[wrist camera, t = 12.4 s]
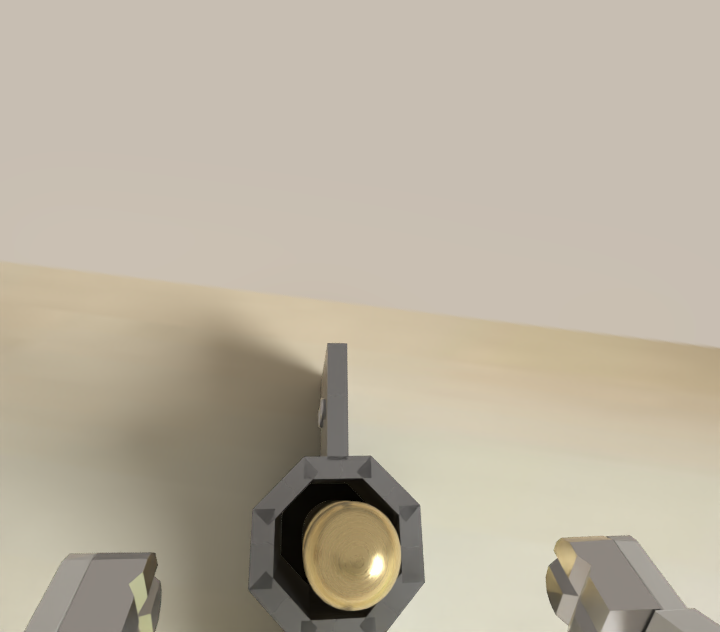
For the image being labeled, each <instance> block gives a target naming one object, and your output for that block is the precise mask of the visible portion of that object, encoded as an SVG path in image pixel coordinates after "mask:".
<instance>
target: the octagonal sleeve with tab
mask: <svg viewBox="0 0 720 632" xmlns="http://www.w3.org/2000/svg"><path fill="white" fill-rule="evenodd" d="M318 428H321V452H320V456H314V457H303V458H302V459H301V460H300V461H299V462H298V463H297V464H296V465H295V466H294V467H293V468H292V470H291V471H290V472H289V473H288V474H287V475H286V476H285V477H284V478H283V479H282V480H281V481H280V482H279V483H278V484H277V485H276V486H275V487H274V488H273V489H272V490H271V491H270V492H269V493H268V494H267V495H266V496H265V497H264V498H263V499H262V500H261V501H260V502H259V503H258V504H257V505H256V506H255V507H254V508H253V512H252V530H251V549H250V567H249V586H248V590H249V591H250V592H251V594H252V595H253V596H254V597H255V598H256V599H257V600H258V602H259V603H260V604H261V605H262V606H263V607H264V608H265V610H266V611H267V612H268V613H269V614H270V615H271V616H272V618H273V619H274V620H275V621H276V622H277V623H278V624H279V626H280V627H281V628H282V629H283V630H284V631H285V632H387V630H388V629H389V628H390V627H391V625H392V624H393V623H394V621H395V620H396V619H397V617H398V616H399V615H400V614H401V612H402V611H403V610H404V608H405V607H406V606H407V605H408V603H409V602H410V601H411V599H412V598H413V597H414V596H415V594H416V593H417V592H418V590H419V589H420V588H421V586H422V585H423V584H424V583H425V578H424V561H423V545H422V528H421V512H420V505H419V504H418V503H417V502H416V501H415V500H414V499H413V498H412V497H411V496H410V494H409V493H408V492H407V491H406V490H405V489H404V488H403V487H402V486H401V485H400V484H399V483H398V482H397V481H396V480H395V479H394V478H393V477H392V476H391V475H390V474H389V473H388V472H387V471H386V470H385V469H384V468H383V467H382V466H381V465H380V464H379V463H378V462H377V461H376V460H375V459H374V458H373V457H372V456H348V381H347V344H345V343H328V344H327V350H326V355H325V361H324V367H323V373H322V379H321V398H320V409H318ZM332 483H347V484H348V485H349V486H350V487H351V488H352V489H353V490H354V492H355V493H356V494H357V495H358V496H359V497H360V498H361V499H362V500H363V501H364V502H365V503H366V504H369V505H371V506H373V507H375V508H377V509H378V510H380V511H381V512H382V513H383V514H384V515H385V516H386V517H387V518H388V519H389V520H390V521H391V523H392V525H393V526H394V528H395V530H396V532H397V535H398V538H399V542H400V546H401V564H400V570H399V574H398V577H397V579H396V582H395V583H394V585H393V587H392V589H391V590H390V591H389V593H388V594H387V595H386V596H385V597H384V598H383V599H382V600H381V601H379V602H378V603H377V604H375V605H373V606H371V607H369V608H367V609H363V610H357V611H345V610H340V609H337V608H334V607H332V606H330V605H329V604H327V603H326V602H324V601H323V600H322V599H321V598H320V597H319V596H318V595H317V594H316V593H315V592H314V590H313V589H312V587H311V585H308V584H307V583H306V582H305V581H304V580H303V579H302V578H301V577H300V575H299V574H298V573H297V572H296V571H295V570H294V569H293V568H292V567H291V566H290V564H289V563H288V562H287V561H286V560H285V559H284V558H283V557H282V556H281V537H282V513H283V512H284V511H285V509H286V508H287V507H288V506H289V505H290V504H291V503H292V502H293V501H294V500H295V499H296V498H297V497H298V496H299V495H300V494H301V493H302V492H303V490H304V489H305V488H306V487H307V486H308V485H309V484H332Z"/></svg>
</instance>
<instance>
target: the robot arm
mask: <svg viewBox="0 0 720 632" xmlns="http://www.w3.org/2000/svg"><path fill="white" fill-rule="evenodd" d="M554 552H555V554H556V556H557V559H556V560H555V561H553V562H552V563H551V564H550V565H549V566H548V570H547V574H546V588H547V594H548V597H549V601H550V603H551V606H552V608H553V610H554V612H555V614H556V616H558V617H559V618H560V619H561V620H562V621H563V622H565V623H566V624H567V625H568V631H567V632H720V625H718V624H717V623H715V622H714V621H713V620H711V619H710V618H708V617H707V616H705V615H704V614H702V613H701V612H699V611H698V610H696V609H695V608H687V607H686V605H685V604H684V603H683V601H682V600H681V599H680V597H679V596H678V595H677V593H676V592H675V591H674V589H673V588H672V587H671V585H670V584H669V583H668V581H667V580H666V579H665V577H664V576H663V575H662V573H661V572H660V571H659V569H658V568H657V567H656V565H655V564H654V563H653V561H652V560H651V559H650V557H649V556H648V555H647V553H646V552H645V551H644V549H643V548H642V547H641V545H640V544H639V543H638V541H637V540H636V539H634V538H633V537H632V536H630V535H628V536H606V537H605V536H589V537H568V538H561V539H559V540H558V541H557V542H556V545H555V548H554ZM157 566H158V564H157V559H156V554H155V553H75V554H69V555H68V556H67V557H66V558H65V559H64V560H63V561H62V562H61V564H60V566H59V568H58V569H57V571H56V573H55V575H54V577H53V579H52V580H51V582H50V584H49V586H48V588H47V590H46V592H45V593H44V595H43V597H42V599H41V601H40V603H39V605H38V606H37V608H36V610H35V612H34V614H33V616H32V618H31V619H30V621H29V623H28V625H27V627H26V629H25V631H24V632H155V631H156V627H157V623H158V620H159V613H160V607H161V583H160V581H159V580H158V579H157V578H156V577H155V576H154V575H155V572H156V569H157Z"/></svg>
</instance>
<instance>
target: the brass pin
mask: <svg viewBox="0 0 720 632" xmlns="http://www.w3.org/2000/svg"><path fill="white" fill-rule="evenodd" d="M302 549H303V564H304V570H305V574H306V577H307V579H308V582H309V584H310V585H311V587H312V589H313V590H314V592H315V593H316V594H317V595H318V596H319V597H320V598H321V599H322V600H323V601H324V602H326V603H327V604H329V605H330V606H332V607H334V608H337V609H340V610H345V611H357V610H363V609H367V608H369V607H371V606H373V605H375V604H377V603H378V602H379V601H381V600H382V599H383V598H384V597H385V596H386V595H387V594H388V593H389V591H390V590H391V589H392V587H393V585H394V583H395V582H396V579H397V577H398V574H399V570H400V564H401V546H400V542H399V538H398V535H397V532H396V530H395V528H394V526H393V525H392V523H391V521H390V520H389V519H388V518H387V517H386V516H385V515H384V514H383V513H382V512H381V511H380V510H378V509H377V508H375V507H373V506H371V505H369V504H366V503H363V502H358V501H341V500H328V501H324V502H322V503H320V504H318V505H316V506H315V507H314V508H313V509H312V510H311V511H310V512H309V513H308V515H307V516H306V518H305V521H304V524H303V528H302Z"/></svg>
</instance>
